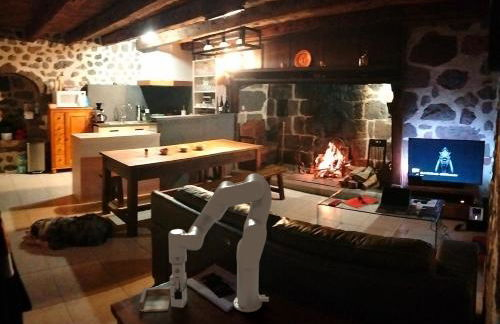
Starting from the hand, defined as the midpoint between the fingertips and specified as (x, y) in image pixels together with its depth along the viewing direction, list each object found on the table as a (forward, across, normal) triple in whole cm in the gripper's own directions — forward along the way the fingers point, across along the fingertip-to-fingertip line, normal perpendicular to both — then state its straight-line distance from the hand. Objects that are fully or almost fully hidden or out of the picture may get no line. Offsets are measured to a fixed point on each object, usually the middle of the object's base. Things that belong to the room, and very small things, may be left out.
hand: (178, 294), depth 180 cm
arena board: (+5, +1, +10) cm, 12 cm away
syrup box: (+5, 0, 0) cm, 5 cm away
